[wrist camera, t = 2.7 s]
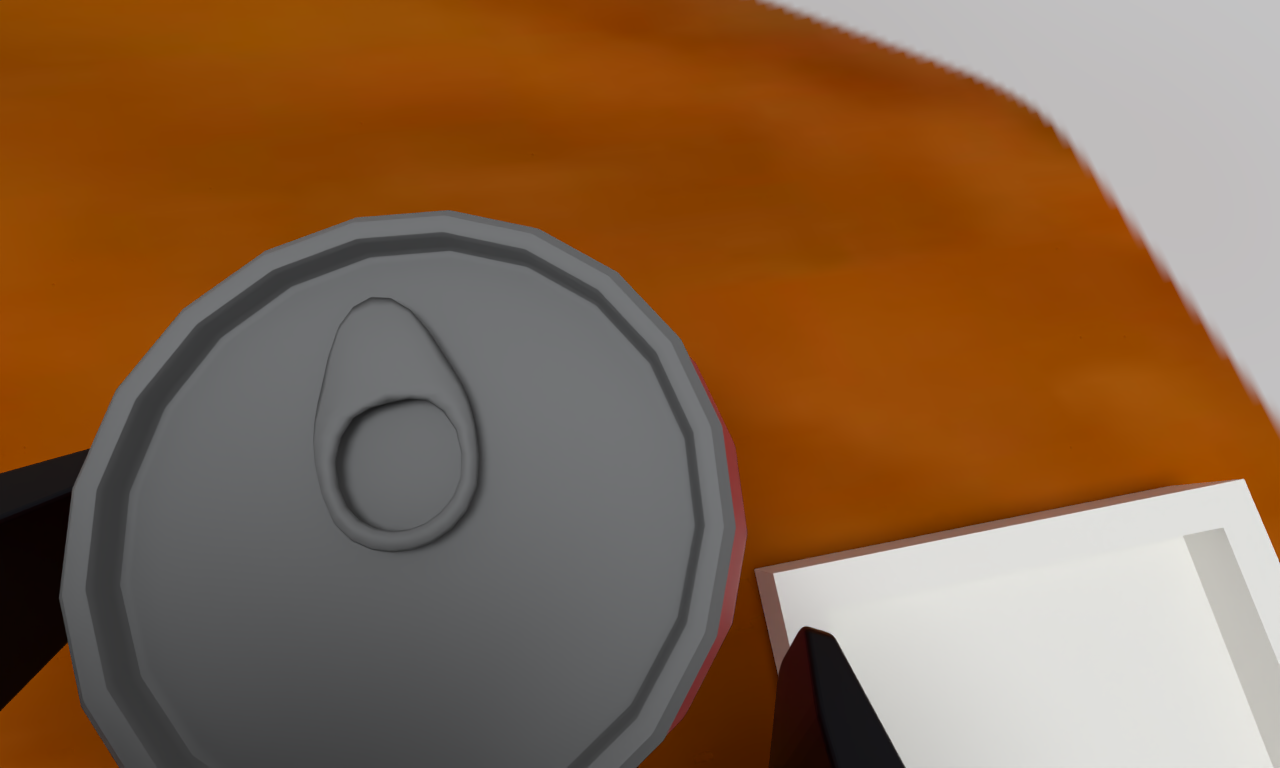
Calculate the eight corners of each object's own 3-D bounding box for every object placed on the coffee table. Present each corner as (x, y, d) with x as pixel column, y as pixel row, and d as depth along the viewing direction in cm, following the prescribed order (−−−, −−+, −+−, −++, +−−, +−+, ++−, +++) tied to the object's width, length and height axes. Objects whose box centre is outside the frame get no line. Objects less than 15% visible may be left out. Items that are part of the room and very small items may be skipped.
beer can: (644, 386, 18) (678, 94, 6) (708, 620, 16) (916, 830, 5) (417, 443, 17) (-24, 242, 6) (461, 691, 16) (-21, 1133, 4)
